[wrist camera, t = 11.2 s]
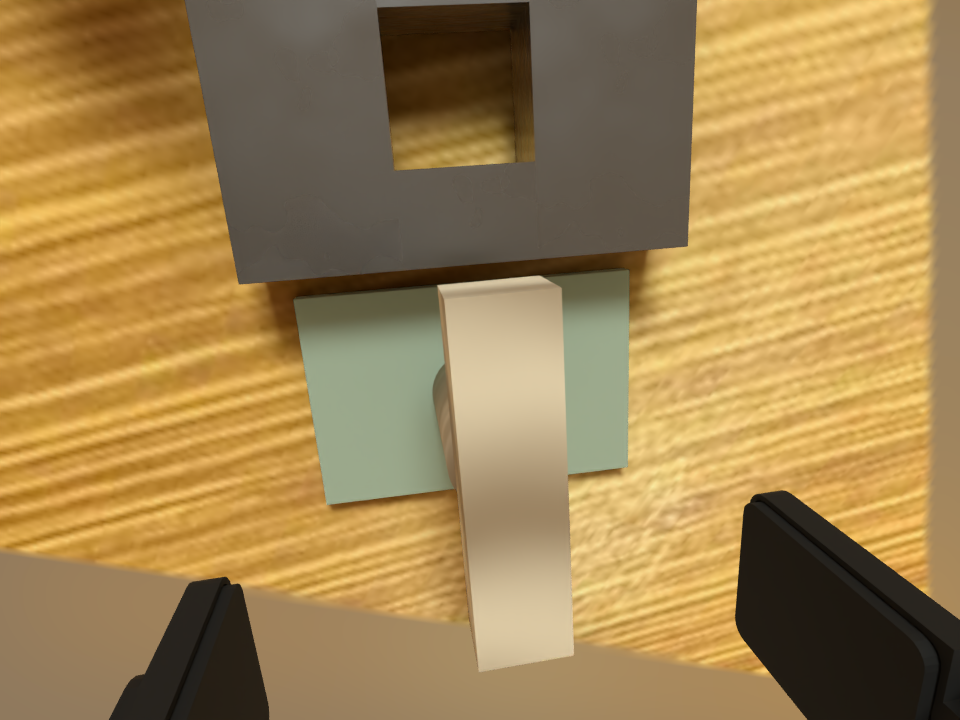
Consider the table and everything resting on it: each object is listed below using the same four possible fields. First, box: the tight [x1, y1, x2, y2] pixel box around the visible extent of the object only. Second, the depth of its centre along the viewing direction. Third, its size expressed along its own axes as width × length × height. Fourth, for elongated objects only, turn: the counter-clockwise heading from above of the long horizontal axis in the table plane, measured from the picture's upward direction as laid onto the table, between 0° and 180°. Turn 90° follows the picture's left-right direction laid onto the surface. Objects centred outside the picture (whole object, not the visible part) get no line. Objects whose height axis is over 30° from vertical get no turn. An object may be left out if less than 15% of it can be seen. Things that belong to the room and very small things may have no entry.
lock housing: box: [185, 0, 697, 284], centre depth 18 cm, size 14×10×3 cm
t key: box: [432, 276, 574, 672], centre depth 18 cm, size 10×3×8 cm, turn 4°
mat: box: [293, 268, 629, 505], centre depth 22 cm, size 12×8×1 cm, turn 94°
